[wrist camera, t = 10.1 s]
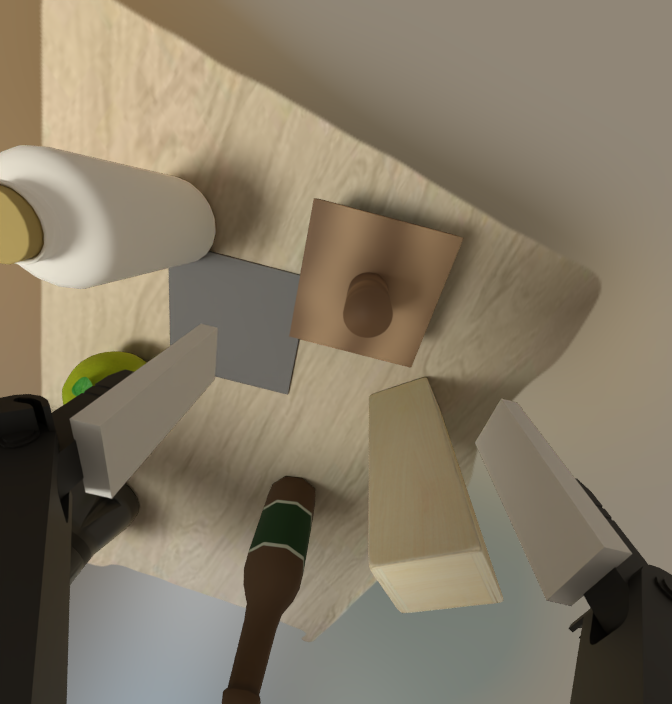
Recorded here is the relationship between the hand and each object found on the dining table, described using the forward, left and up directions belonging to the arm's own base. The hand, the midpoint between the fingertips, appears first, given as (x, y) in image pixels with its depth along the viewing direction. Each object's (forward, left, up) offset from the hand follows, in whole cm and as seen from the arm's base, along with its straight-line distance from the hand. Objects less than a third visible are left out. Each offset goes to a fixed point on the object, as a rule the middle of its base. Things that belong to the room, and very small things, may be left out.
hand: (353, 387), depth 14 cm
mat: (-13, -9, -22) cm, 27 cm away
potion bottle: (-20, +1, -22) cm, 29 cm away
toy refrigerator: (+10, -15, -22) cm, 28 cm away
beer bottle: (-1, -36, -22) cm, 42 cm away
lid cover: (0, +1, -17) cm, 17 cm away
